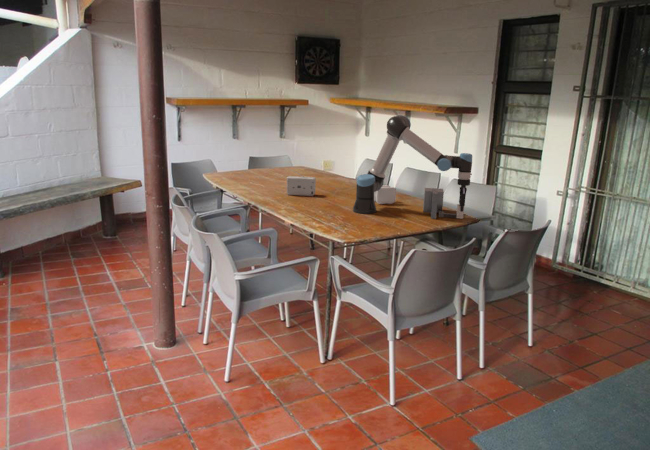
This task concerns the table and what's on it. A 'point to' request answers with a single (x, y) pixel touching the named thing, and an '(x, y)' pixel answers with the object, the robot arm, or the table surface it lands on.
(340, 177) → the table surface
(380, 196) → the cable organizer
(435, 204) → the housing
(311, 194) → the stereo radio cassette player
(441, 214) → the plug
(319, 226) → the table surface
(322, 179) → the table surface
